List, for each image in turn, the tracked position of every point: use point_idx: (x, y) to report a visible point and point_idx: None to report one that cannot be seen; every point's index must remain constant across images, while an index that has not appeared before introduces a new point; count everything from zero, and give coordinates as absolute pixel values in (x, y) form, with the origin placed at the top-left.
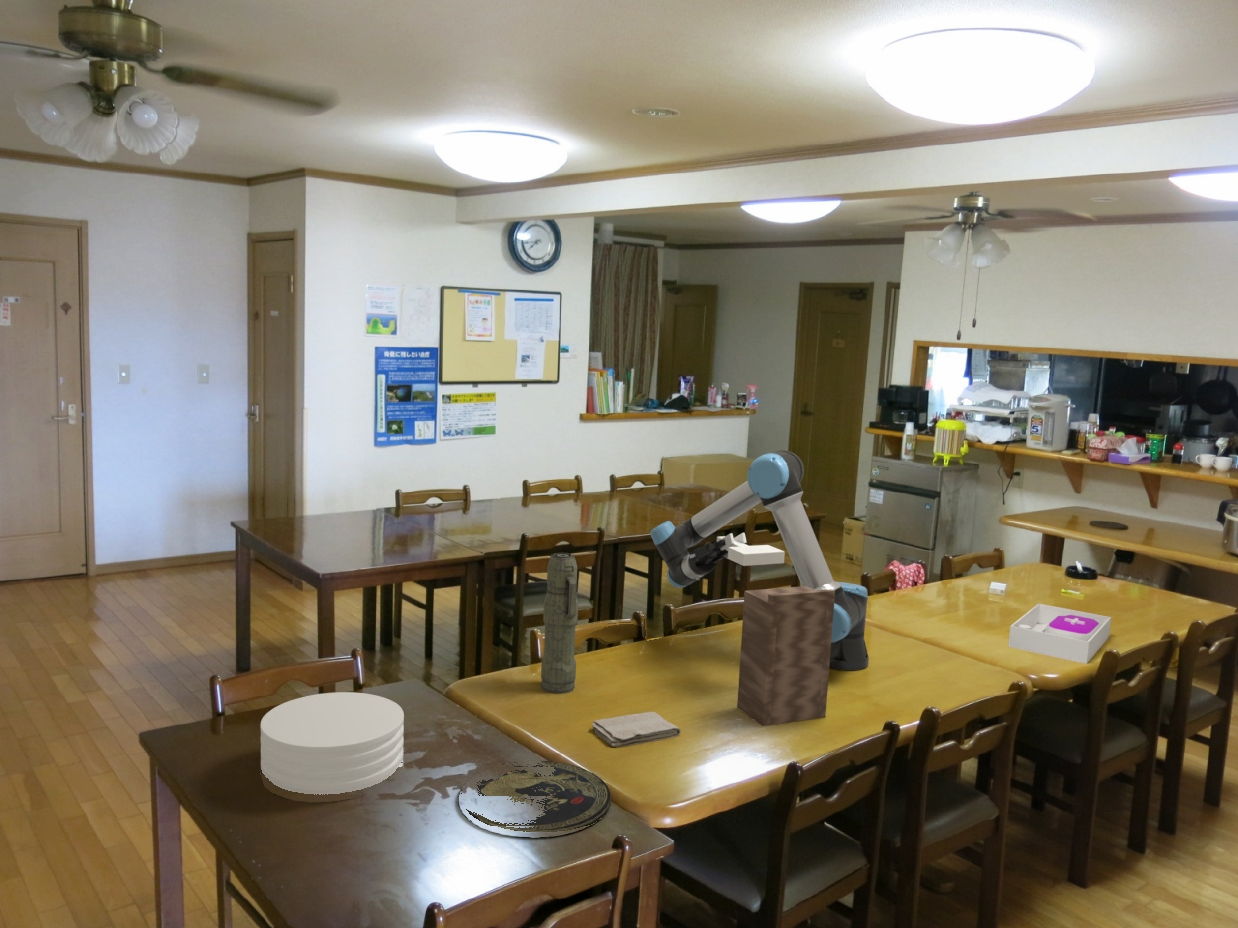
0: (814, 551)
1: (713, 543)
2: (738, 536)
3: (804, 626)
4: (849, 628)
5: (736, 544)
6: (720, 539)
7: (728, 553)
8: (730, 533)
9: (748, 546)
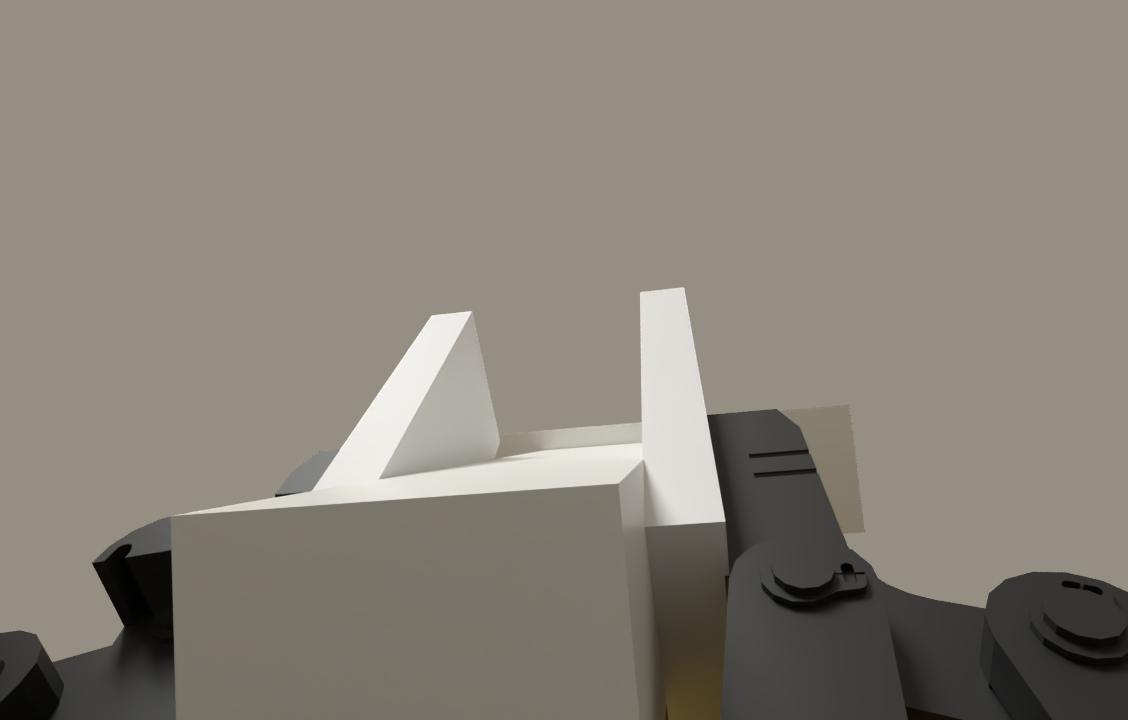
0: None
1: (889, 651)
2: (445, 383)
3: None
4: None
5: (634, 447)
6: (638, 507)
7: (854, 472)
8: (676, 289)
9: (613, 425)
